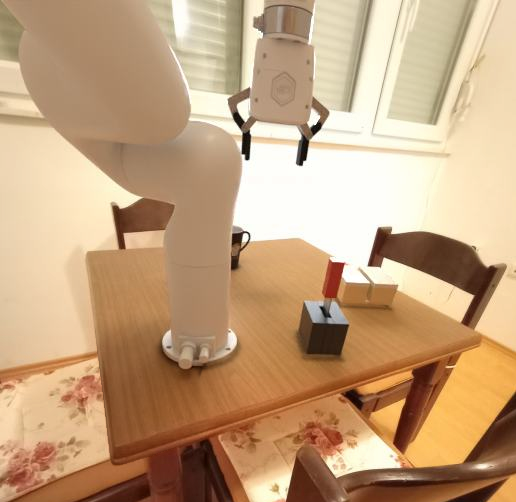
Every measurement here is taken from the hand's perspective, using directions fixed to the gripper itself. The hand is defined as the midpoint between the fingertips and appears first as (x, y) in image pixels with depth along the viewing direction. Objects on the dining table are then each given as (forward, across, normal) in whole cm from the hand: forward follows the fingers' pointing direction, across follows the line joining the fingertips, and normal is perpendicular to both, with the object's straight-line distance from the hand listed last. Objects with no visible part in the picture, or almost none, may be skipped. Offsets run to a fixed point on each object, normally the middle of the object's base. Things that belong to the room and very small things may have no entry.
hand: (273, 162), depth 56 cm
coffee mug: (+27, -6, +21) cm, 34 cm away
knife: (+26, +9, -19) cm, 33 cm away
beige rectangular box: (+27, +25, +3) cm, 36 cm away
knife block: (+27, +9, -19) cm, 34 cm away
